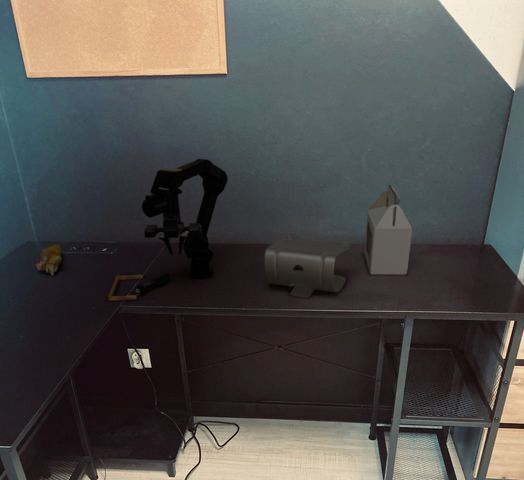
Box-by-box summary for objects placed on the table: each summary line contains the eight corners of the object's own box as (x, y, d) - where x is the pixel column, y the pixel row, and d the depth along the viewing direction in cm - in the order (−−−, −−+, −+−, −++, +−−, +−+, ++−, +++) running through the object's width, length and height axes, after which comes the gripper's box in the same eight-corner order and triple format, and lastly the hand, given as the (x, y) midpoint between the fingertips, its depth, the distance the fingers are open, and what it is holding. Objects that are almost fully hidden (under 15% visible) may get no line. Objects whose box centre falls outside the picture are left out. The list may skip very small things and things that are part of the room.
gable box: (406, 275, 194) (416, 198, 179) (370, 274, 195) (377, 198, 180) (397, 253, 213) (405, 182, 198) (364, 253, 214) (370, 182, 199)
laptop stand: (262, 293, 183) (261, 250, 175) (283, 268, 202) (283, 228, 194) (334, 303, 175) (337, 259, 167) (350, 276, 194) (352, 235, 186)
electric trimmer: (173, 281, 194) (172, 273, 192) (140, 296, 183) (139, 287, 182) (166, 279, 196) (165, 271, 194) (133, 293, 185) (132, 285, 184)
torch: (62, 263, 222) (53, 278, 199) (43, 255, 219) (31, 271, 196) (69, 244, 219) (60, 258, 197) (49, 237, 217) (38, 250, 194)
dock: (143, 277, 197) (142, 273, 196) (136, 299, 181) (135, 295, 180) (117, 278, 197) (116, 275, 196) (108, 300, 181) (107, 296, 180)
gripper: (139, 218, 168) (145, 264, 176) (198, 215, 169) (202, 261, 177) (143, 208, 178) (149, 252, 186) (199, 205, 179) (203, 250, 187)
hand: (175, 254), depth 184 cm, fingers open, 3 cm apart
